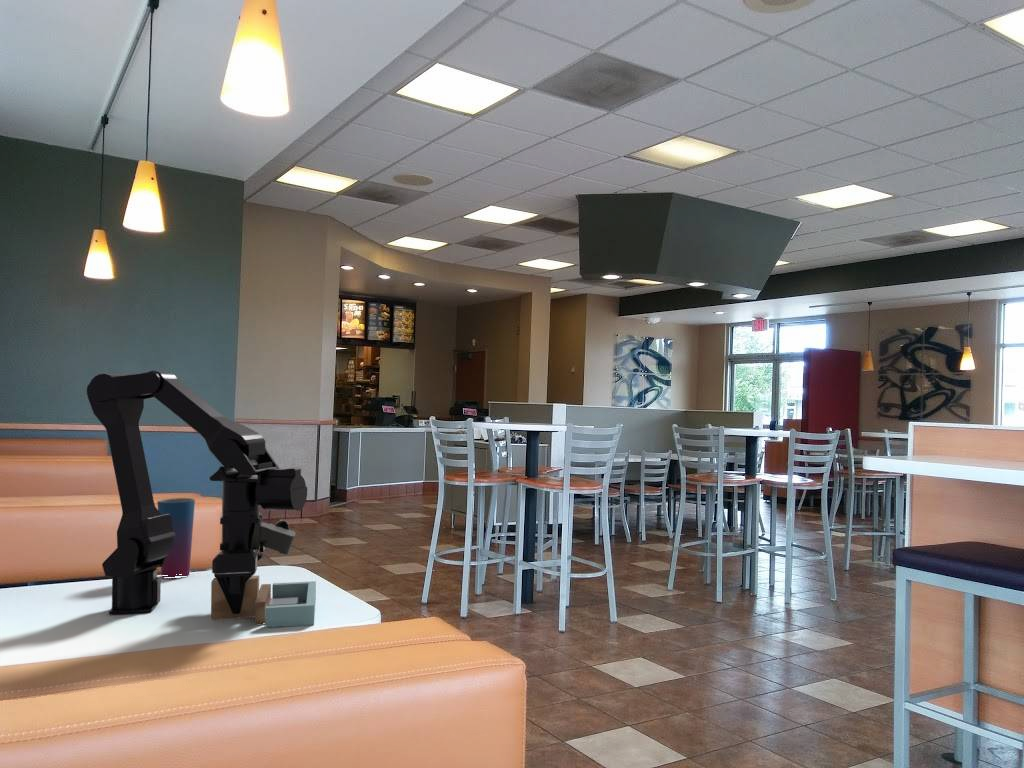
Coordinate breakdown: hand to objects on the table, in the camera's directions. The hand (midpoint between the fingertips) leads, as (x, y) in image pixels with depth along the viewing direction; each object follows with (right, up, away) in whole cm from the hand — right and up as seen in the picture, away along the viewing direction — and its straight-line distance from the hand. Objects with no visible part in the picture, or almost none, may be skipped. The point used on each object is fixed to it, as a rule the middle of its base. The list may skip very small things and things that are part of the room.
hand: (239, 605), depth 124 cm
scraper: (-1, -2, 0) cm, 2 cm away
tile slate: (+6, -2, +5) cm, 8 cm away
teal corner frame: (+7, -2, +2) cm, 8 cm away
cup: (-22, -2, +28) cm, 36 cm away
